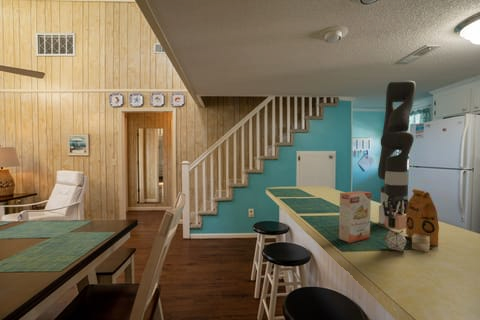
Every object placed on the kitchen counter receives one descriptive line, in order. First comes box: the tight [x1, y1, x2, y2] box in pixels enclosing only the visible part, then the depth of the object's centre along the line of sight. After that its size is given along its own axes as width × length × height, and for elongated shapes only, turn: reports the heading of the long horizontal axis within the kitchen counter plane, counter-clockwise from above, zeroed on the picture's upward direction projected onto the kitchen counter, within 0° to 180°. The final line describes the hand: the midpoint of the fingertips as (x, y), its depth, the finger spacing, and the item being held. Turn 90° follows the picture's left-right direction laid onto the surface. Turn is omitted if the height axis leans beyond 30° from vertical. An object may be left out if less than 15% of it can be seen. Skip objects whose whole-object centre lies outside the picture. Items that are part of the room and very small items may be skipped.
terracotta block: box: [384, 213, 406, 231], centre depth 93 cm, size 5×5×5 cm
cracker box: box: [338, 190, 372, 244], centre depth 106 cm, size 14×6×21 cm, turn 118°
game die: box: [382, 228, 410, 254], centre depth 93 cm, size 9×8×10 cm
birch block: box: [411, 234, 431, 253], centre depth 95 cm, size 5×5×5 cm
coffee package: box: [405, 188, 440, 247], centre depth 104 cm, size 10×12×22 cm
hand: (395, 226), depth 93 cm, fingers closed on terracotta block, 4 cm apart
